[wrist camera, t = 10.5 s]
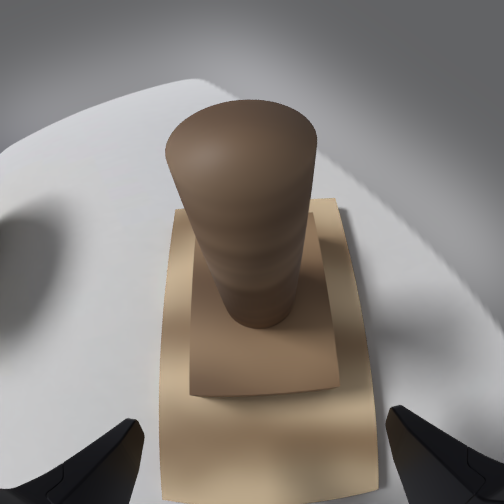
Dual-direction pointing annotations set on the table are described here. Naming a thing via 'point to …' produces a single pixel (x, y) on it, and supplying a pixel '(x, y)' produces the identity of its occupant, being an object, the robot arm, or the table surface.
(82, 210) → the table surface
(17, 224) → the table surface
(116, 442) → the robot arm
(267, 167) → the block
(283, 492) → the oak board
